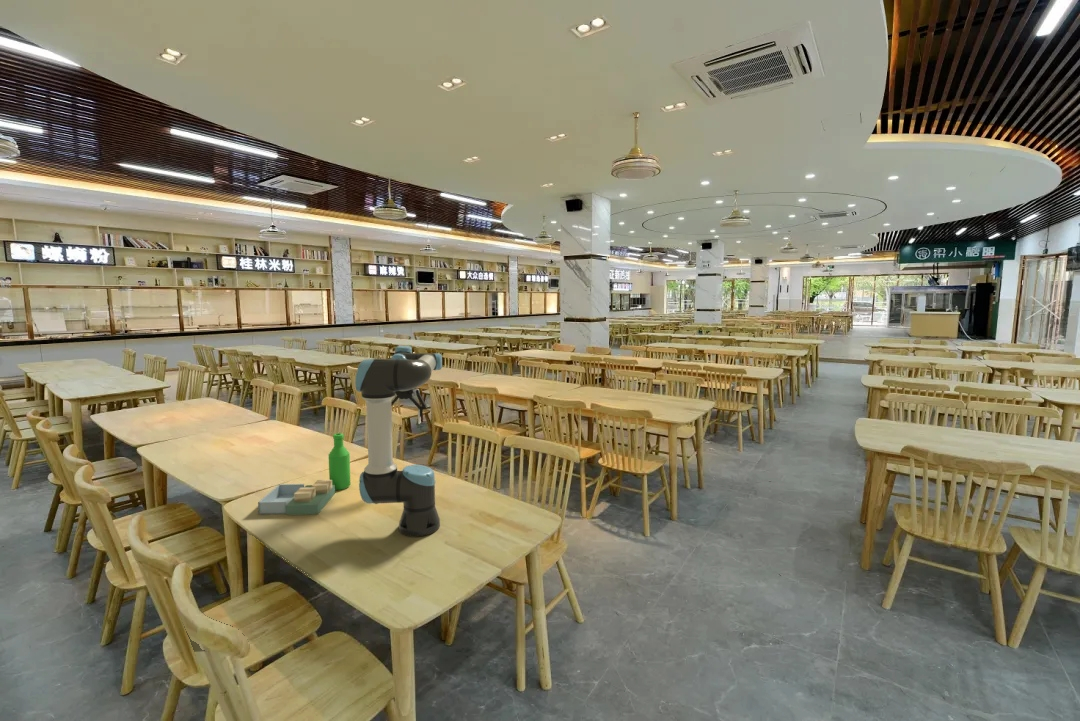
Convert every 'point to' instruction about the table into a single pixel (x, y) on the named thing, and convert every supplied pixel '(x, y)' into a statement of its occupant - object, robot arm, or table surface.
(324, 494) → the board
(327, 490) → the wooden block stack
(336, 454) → the bottle
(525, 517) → the table surface
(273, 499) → the tray
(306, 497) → the tile
